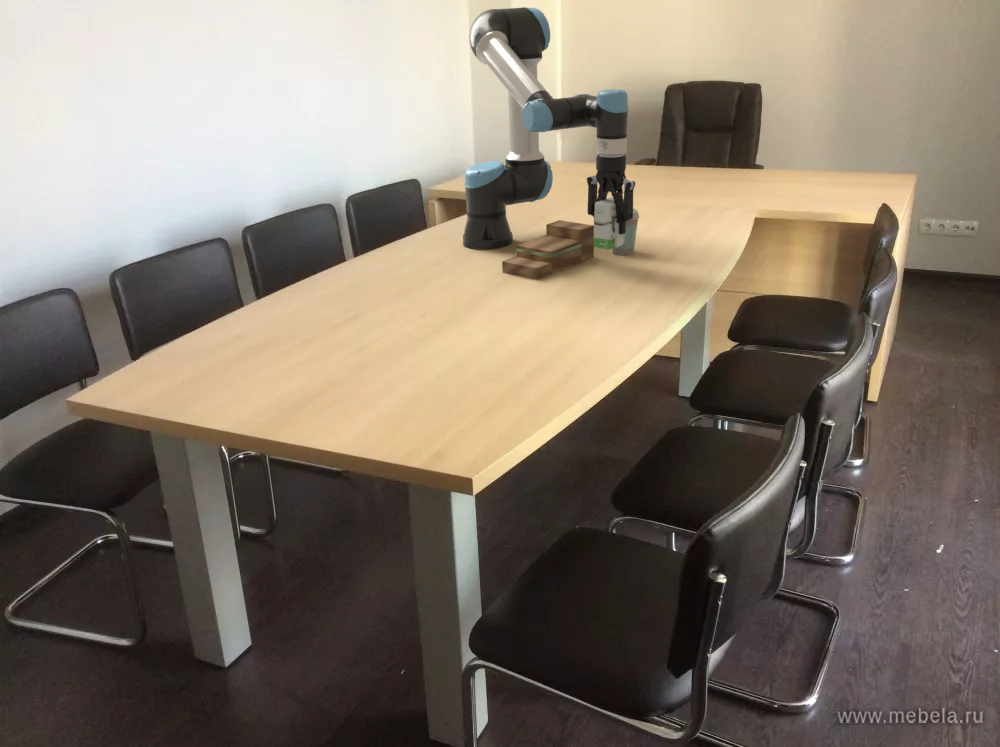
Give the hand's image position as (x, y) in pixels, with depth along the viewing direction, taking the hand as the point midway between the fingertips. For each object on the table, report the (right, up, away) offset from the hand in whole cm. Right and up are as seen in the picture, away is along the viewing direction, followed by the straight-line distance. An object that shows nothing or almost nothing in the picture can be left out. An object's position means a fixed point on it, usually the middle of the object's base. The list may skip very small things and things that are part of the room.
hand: (609, 243), depth 222 cm
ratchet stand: (-15, -4, +8) cm, 18 cm away
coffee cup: (+6, 0, +16) cm, 17 cm away
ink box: (0, -1, 0) cm, 1 cm away
